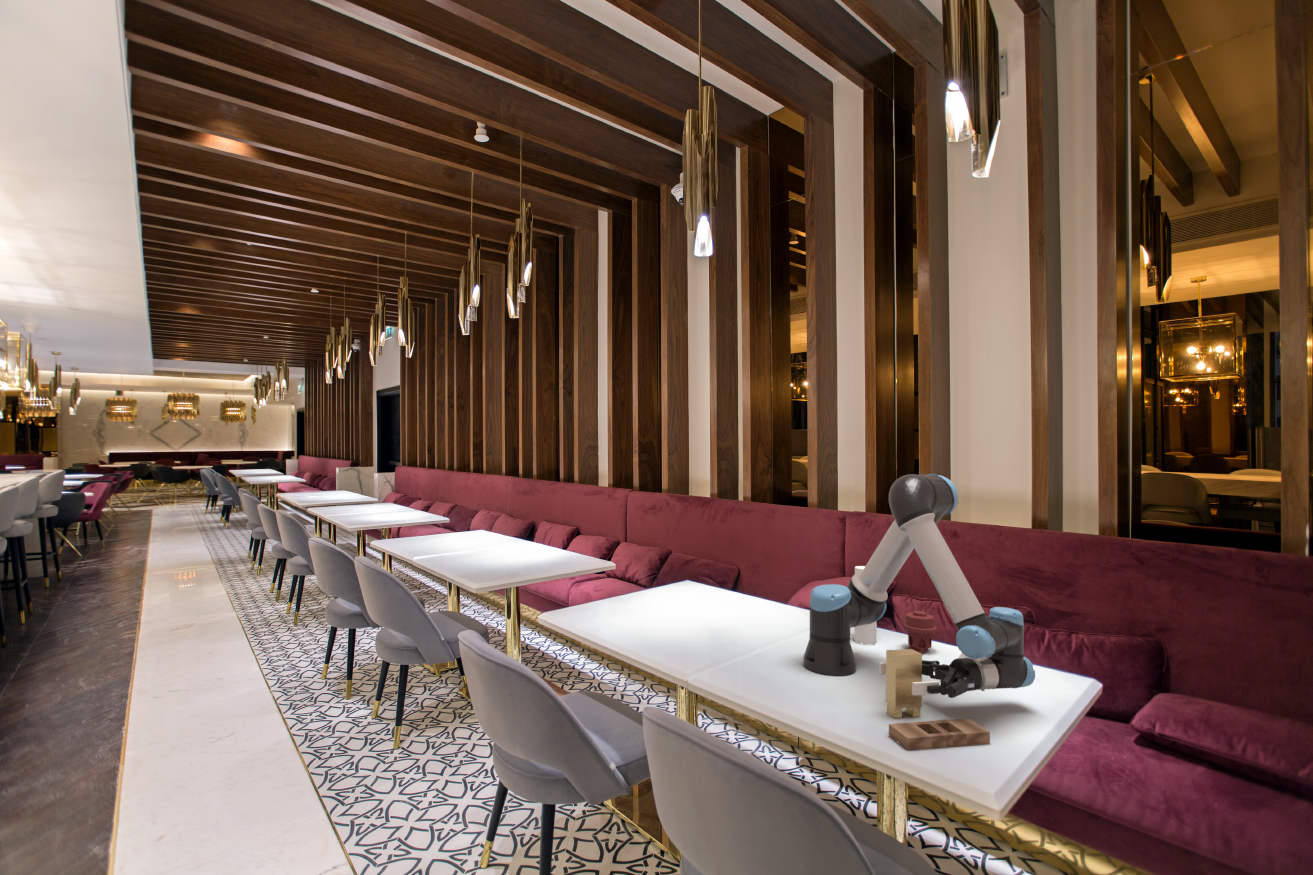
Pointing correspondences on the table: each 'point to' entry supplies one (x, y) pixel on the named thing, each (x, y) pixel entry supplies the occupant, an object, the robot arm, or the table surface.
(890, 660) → the tall wooden block
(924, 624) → the mechanical component
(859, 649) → the table surface
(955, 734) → the slotted wooden base
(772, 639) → the table surface
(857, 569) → the cylindrical container
